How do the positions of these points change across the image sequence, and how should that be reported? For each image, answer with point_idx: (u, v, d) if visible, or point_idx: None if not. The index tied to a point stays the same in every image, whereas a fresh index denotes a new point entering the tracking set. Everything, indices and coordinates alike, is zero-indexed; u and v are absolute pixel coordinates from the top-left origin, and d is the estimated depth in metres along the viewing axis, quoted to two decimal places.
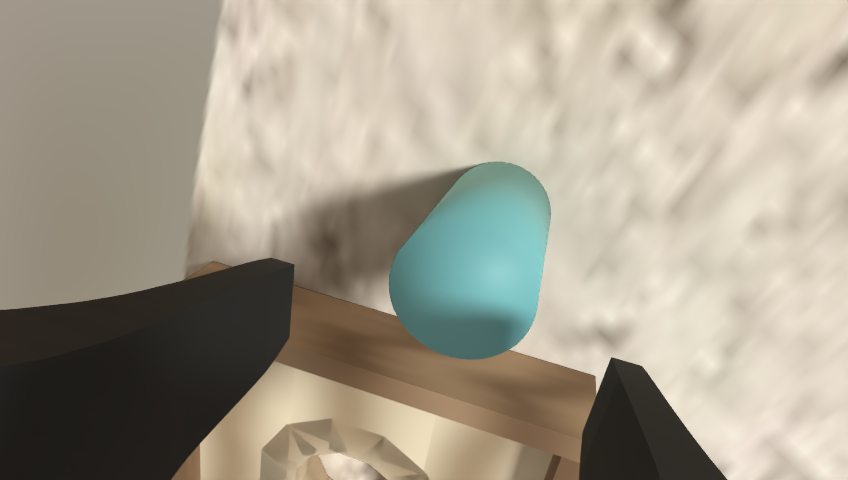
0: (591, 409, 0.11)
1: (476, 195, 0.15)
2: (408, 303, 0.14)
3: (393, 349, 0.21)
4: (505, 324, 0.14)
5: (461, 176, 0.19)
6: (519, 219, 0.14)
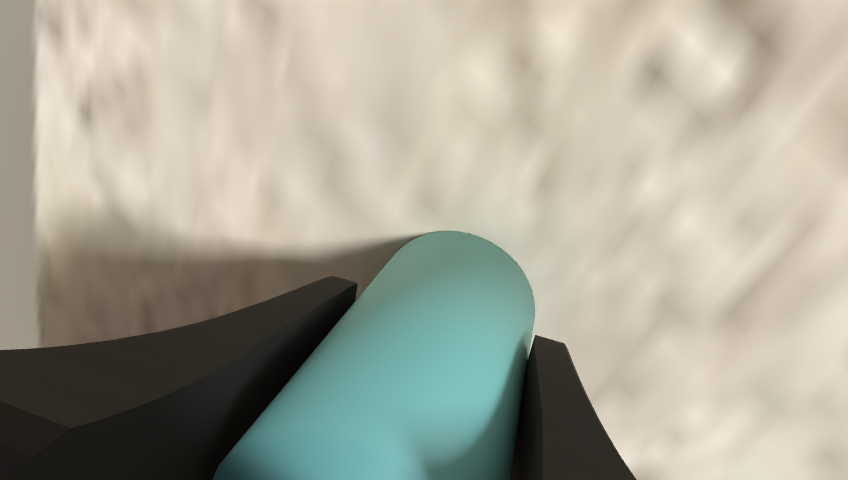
0: None
1: (392, 327, 0.08)
2: None
3: None
4: None
5: (396, 253, 0.12)
6: (465, 384, 0.08)
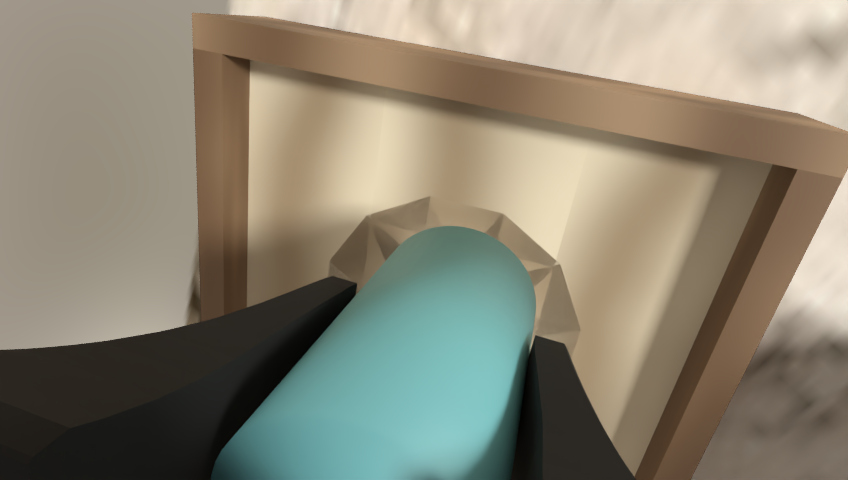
0: None
1: (398, 316, 0.08)
2: None
3: (526, 69, 0.15)
4: None
5: (399, 246, 0.12)
6: (471, 374, 0.08)
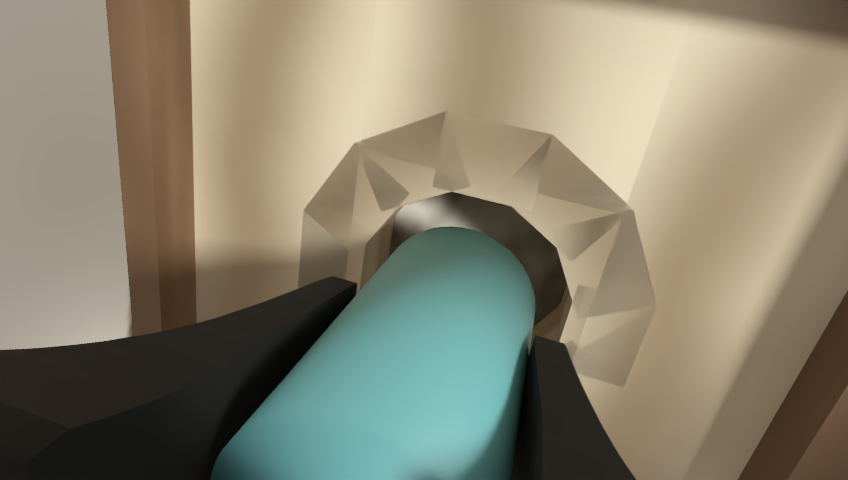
0: None
1: (397, 317, 0.08)
2: None
3: None
4: None
5: (399, 247, 0.12)
6: (470, 375, 0.08)
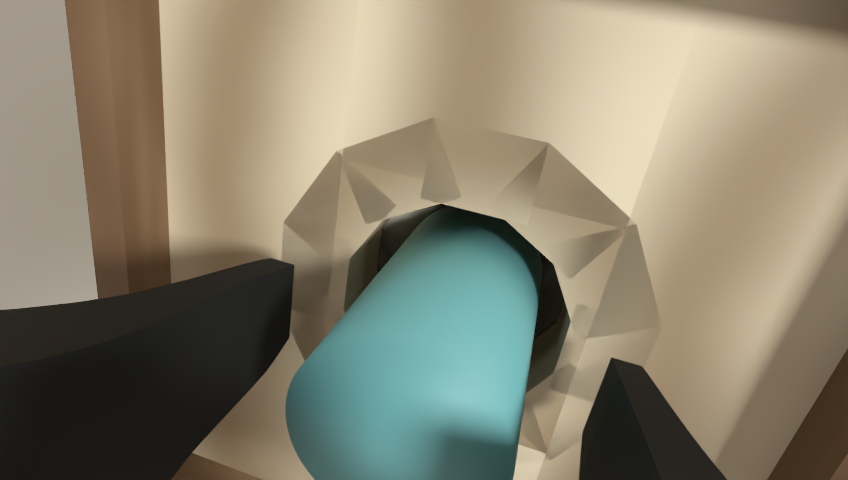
0: (591, 409, 0.11)
1: (431, 271, 0.10)
2: (315, 445, 0.09)
3: None
4: None
5: (422, 221, 0.14)
6: (492, 315, 0.09)
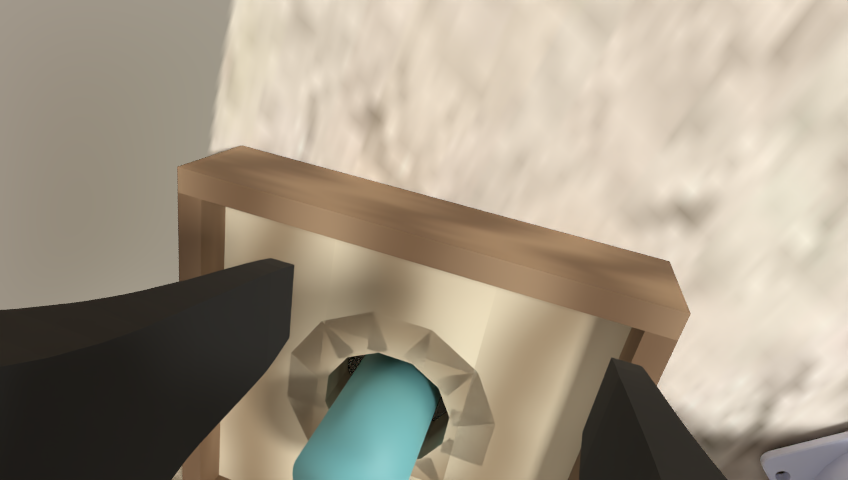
0: (591, 409, 0.11)
1: (367, 399, 0.20)
2: None
3: (448, 224, 0.18)
4: None
5: None
6: (395, 425, 0.19)
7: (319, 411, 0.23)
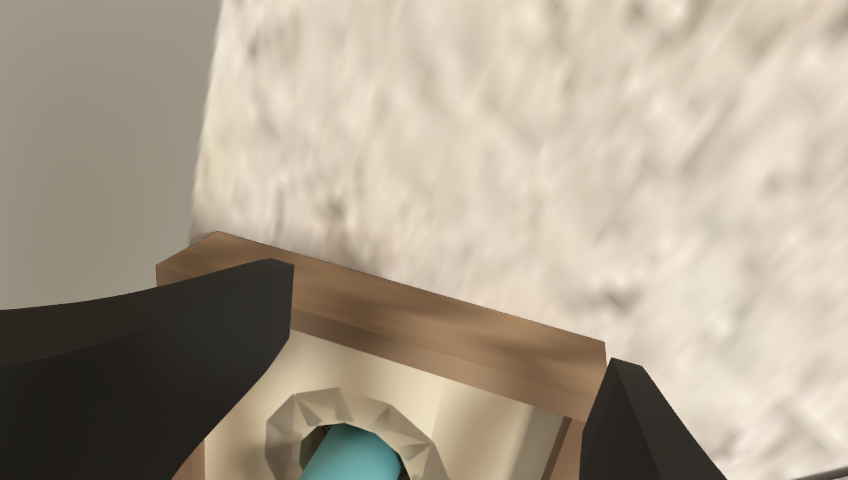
0: (591, 409, 0.11)
1: (332, 470, 0.22)
2: None
3: (401, 314, 0.20)
4: None
5: None
6: None
7: (294, 472, 0.25)
